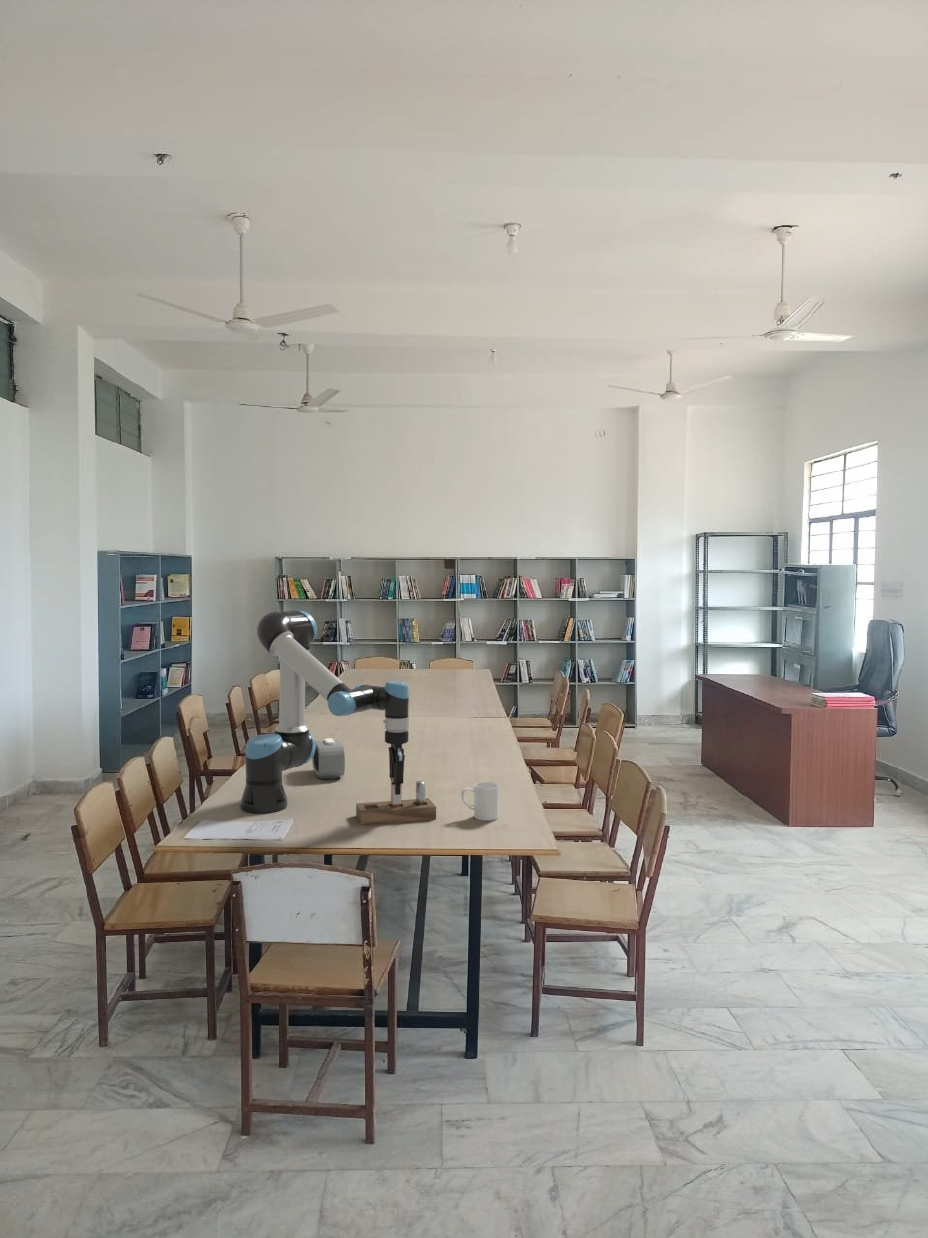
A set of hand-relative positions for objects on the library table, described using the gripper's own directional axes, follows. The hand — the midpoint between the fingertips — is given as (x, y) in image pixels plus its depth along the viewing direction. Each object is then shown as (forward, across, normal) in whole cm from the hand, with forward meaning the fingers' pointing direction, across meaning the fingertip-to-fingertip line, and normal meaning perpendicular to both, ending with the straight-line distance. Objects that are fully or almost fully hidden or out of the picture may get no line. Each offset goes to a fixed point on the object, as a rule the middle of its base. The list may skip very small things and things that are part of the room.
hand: (396, 802), depth 263 cm
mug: (+5, +7, +26) cm, 27 cm away
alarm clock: (+5, -60, -14) cm, 62 cm away
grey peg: (+5, 0, +8) cm, 9 cm away
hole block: (+5, 0, 0) cm, 5 cm away
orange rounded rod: (+3, 0, 0) cm, 3 cm away
